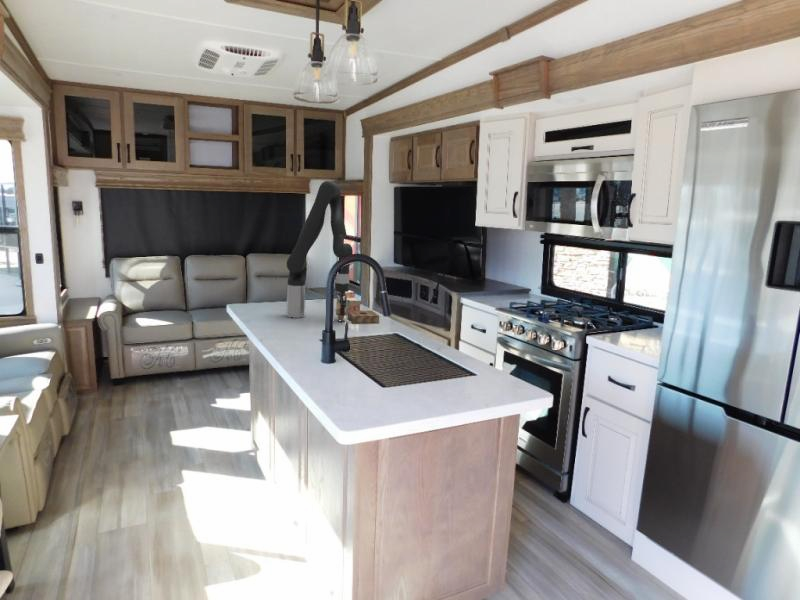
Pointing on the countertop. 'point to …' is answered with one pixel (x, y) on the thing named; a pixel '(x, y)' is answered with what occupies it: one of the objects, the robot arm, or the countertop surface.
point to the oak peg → (339, 311)
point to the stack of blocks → (351, 302)
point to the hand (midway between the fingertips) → (341, 313)
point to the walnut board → (363, 317)
